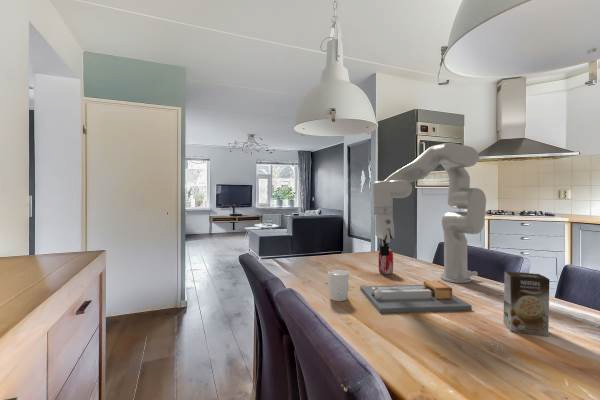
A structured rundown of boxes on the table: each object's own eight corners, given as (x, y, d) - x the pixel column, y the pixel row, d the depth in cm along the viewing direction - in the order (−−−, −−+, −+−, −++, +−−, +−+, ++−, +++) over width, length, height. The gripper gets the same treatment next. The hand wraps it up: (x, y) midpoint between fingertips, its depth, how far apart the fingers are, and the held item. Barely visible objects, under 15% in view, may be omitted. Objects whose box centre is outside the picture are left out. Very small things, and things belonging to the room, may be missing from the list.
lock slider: (438, 290, 115) (438, 280, 115) (452, 298, 106) (452, 287, 106) (423, 290, 114) (423, 281, 114) (436, 298, 105) (436, 288, 105)
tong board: (434, 287, 123) (434, 277, 123) (471, 309, 99) (471, 297, 99) (360, 289, 121) (360, 279, 121) (380, 312, 97) (379, 300, 97)
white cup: (324, 298, 111) (324, 272, 111) (336, 293, 117) (336, 268, 117) (341, 303, 106) (341, 276, 106) (353, 298, 112) (352, 272, 112)
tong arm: (422, 291, 113) (422, 285, 113) (426, 294, 110) (426, 287, 110) (370, 293, 111) (370, 287, 111) (372, 295, 109) (372, 289, 109)
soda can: (394, 274, 144) (394, 250, 144) (380, 274, 144) (380, 250, 144) (390, 271, 151) (390, 248, 151) (377, 271, 151) (377, 248, 151)
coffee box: (510, 332, 83) (510, 276, 83) (502, 322, 89) (503, 270, 89) (549, 336, 80) (550, 279, 80) (539, 327, 86) (539, 273, 86)
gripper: (399, 211, 112) (400, 259, 113) (385, 209, 127) (386, 251, 128) (380, 212, 112) (382, 260, 112) (368, 210, 127) (370, 252, 127)
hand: (384, 255), depth 120 cm, fingers closed
